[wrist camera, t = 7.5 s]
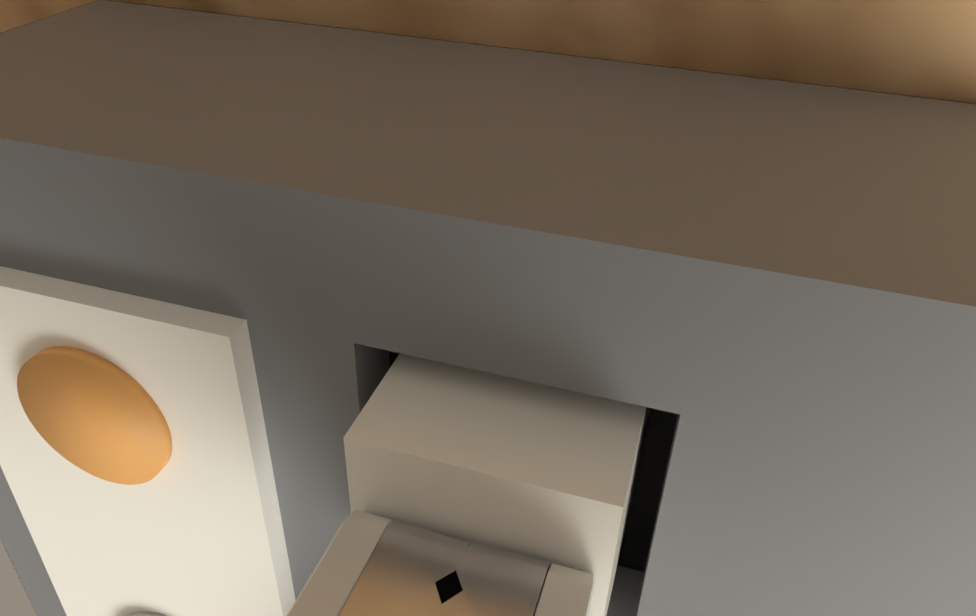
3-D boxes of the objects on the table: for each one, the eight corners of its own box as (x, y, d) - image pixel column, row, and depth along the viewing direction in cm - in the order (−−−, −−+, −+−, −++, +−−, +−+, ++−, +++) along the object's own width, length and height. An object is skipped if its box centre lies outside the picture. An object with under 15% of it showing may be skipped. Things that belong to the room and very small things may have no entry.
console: (100, -1, 15) (-254, 118, 10) (1024, 110, 12) (1214, 386, 6) (247, 625, 27) (115, 835, 21) (742, 783, 23) (727, 1082, 18)
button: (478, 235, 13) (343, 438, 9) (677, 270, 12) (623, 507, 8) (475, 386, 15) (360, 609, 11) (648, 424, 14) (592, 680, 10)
